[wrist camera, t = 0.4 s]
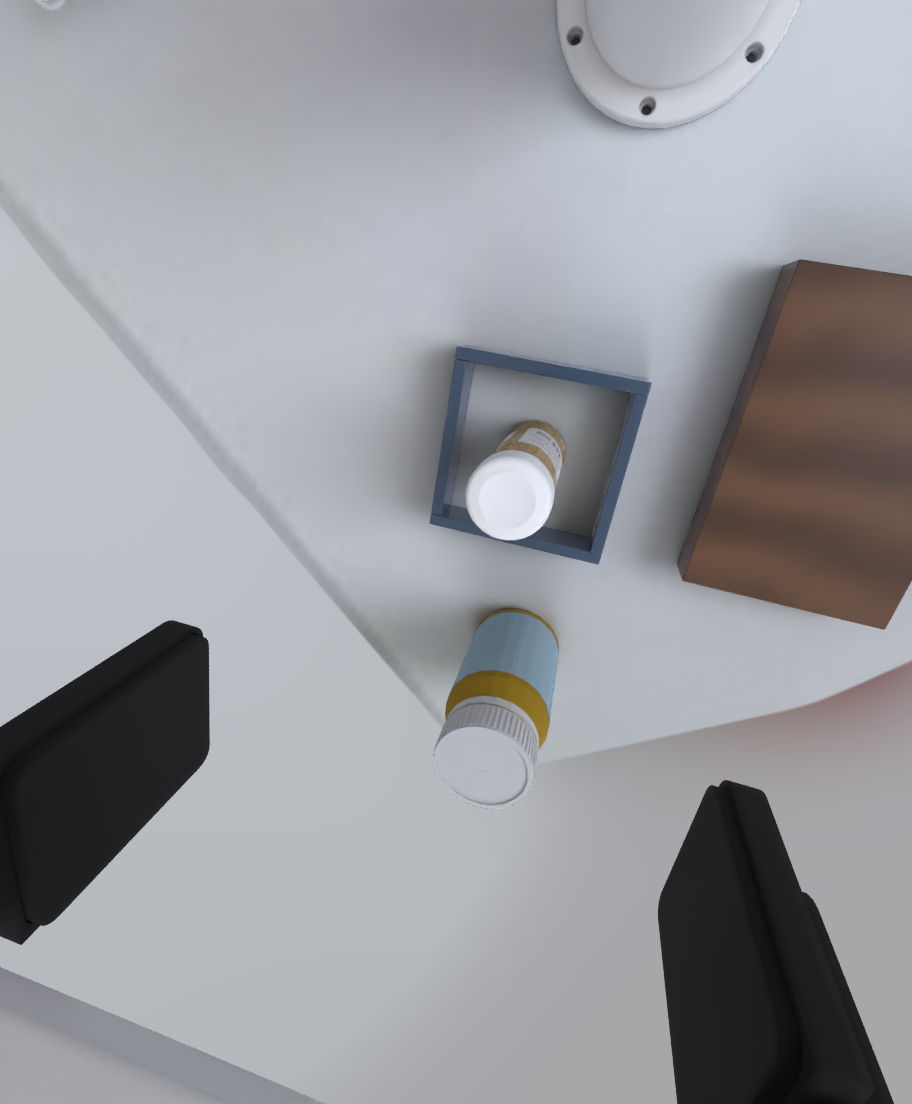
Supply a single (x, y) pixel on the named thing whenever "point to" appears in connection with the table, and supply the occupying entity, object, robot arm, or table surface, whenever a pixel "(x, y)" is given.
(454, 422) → the blue square frame
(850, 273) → the counter board
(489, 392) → the table surface
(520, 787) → the bottle
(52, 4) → the teacup
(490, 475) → the sprinkles bottle
